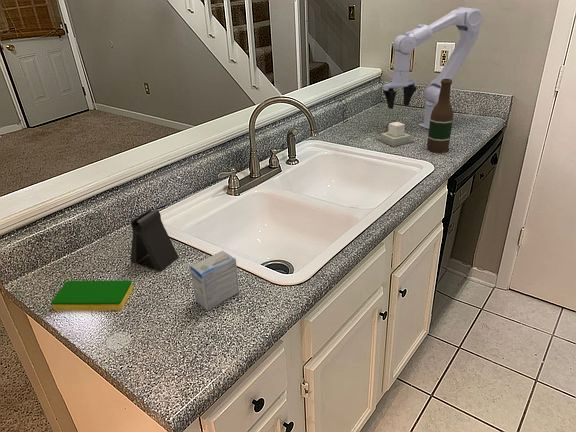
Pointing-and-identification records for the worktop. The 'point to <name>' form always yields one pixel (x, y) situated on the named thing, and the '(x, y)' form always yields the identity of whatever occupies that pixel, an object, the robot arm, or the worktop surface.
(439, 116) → the beer bottle
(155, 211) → the phone stand
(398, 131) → the plug
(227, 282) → the medicine box
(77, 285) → the dish sponge
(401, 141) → the socket block
